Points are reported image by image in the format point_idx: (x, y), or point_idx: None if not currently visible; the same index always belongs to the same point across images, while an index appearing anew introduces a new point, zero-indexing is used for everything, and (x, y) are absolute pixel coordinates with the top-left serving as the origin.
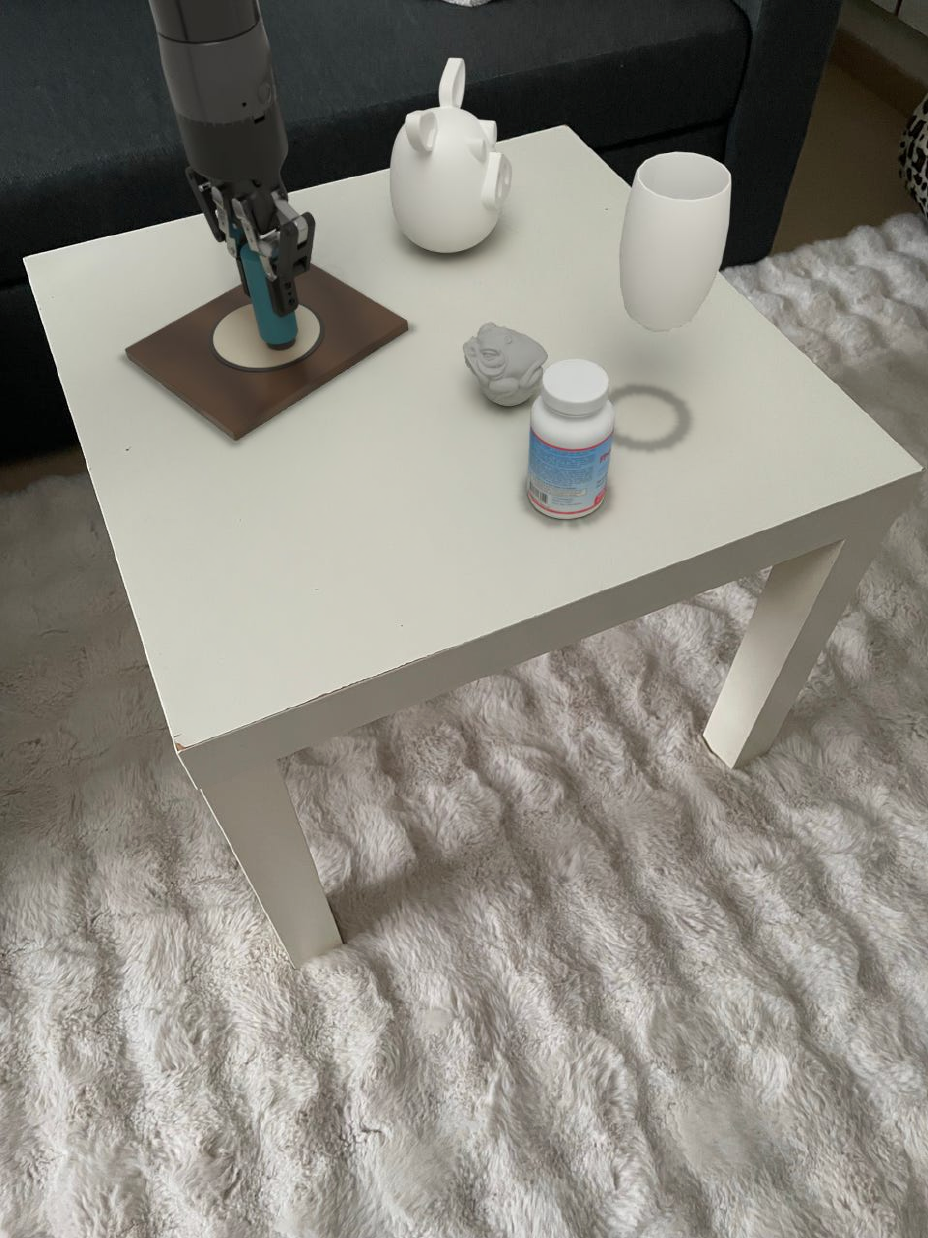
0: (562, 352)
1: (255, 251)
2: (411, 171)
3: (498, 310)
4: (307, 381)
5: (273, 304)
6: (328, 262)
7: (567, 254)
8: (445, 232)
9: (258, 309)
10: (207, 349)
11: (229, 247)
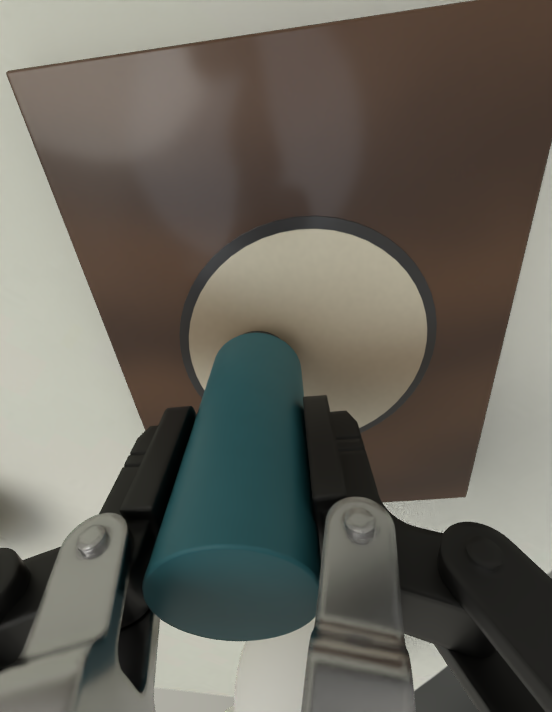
0: None
1: (33, 673)
2: None
3: None
4: (114, 330)
5: (169, 429)
6: (412, 508)
7: (200, 645)
8: (254, 653)
9: (232, 386)
10: (365, 216)
11: (375, 535)
